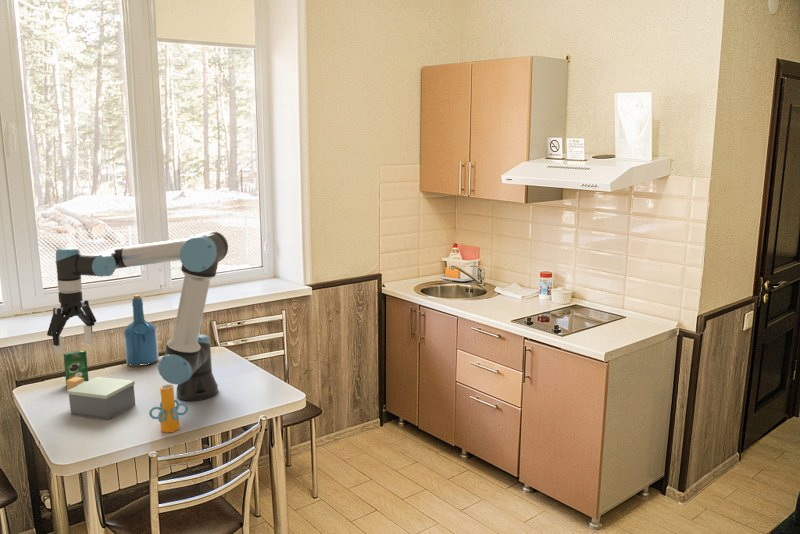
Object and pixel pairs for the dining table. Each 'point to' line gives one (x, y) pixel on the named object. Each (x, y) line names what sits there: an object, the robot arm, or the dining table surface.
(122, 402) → the tub
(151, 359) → the wine bottle
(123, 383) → the lid
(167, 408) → the orange post with rings
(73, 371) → the coffee box
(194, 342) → the robot arm
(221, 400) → the dining table surface
